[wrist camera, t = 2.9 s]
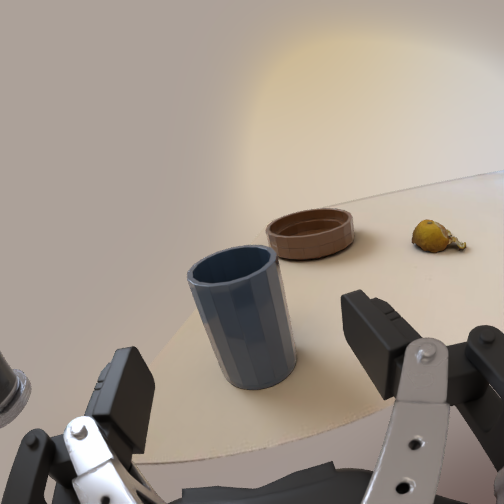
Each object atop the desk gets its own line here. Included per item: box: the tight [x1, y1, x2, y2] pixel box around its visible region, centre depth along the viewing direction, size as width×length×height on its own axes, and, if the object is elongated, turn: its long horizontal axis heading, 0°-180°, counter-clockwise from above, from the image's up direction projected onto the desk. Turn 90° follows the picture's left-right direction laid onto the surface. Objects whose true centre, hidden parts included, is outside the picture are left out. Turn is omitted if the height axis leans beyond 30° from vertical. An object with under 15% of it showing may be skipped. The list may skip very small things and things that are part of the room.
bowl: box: [266, 208, 355, 260], centre depth 47 cm, size 14×14×4 cm
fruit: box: [412, 220, 466, 253], centre depth 36 cm, size 8×8×4 cm
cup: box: [187, 245, 297, 390], centre depth 23 cm, size 7×7×10 cm
